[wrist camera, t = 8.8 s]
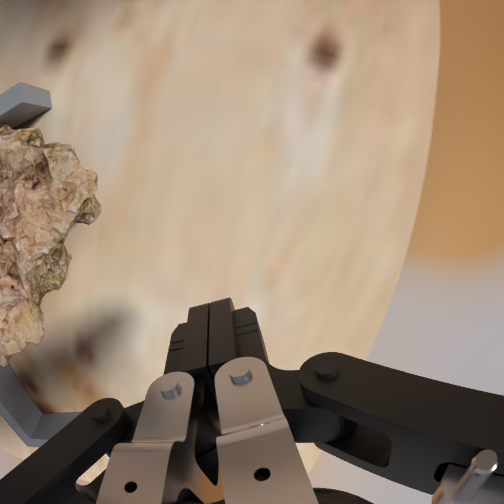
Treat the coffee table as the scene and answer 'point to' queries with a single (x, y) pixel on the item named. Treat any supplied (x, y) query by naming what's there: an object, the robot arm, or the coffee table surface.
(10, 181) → the rock
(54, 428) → the bracket
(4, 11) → the coffee table surface
